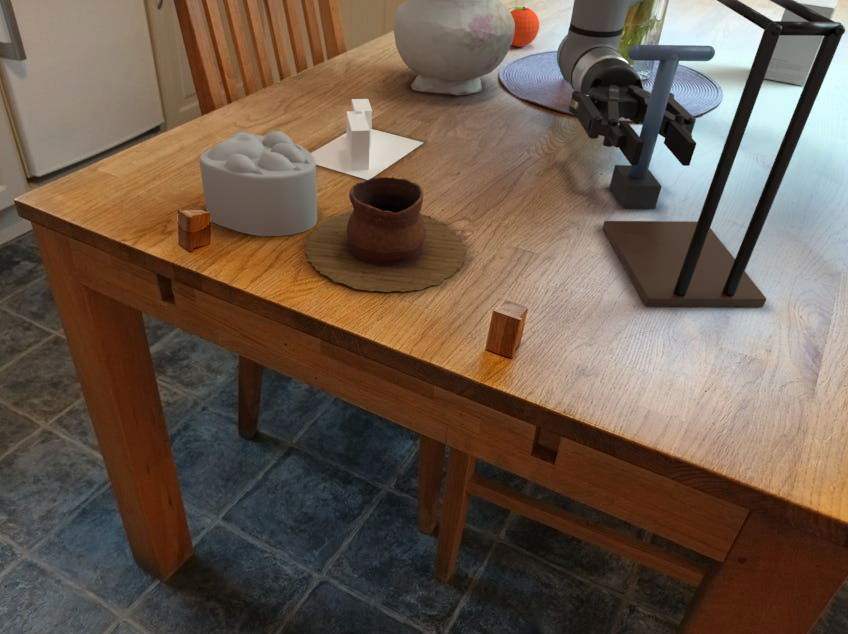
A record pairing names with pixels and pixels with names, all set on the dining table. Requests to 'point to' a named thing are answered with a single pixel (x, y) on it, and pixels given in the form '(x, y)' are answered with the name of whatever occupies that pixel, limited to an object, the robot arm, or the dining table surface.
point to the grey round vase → (452, 42)
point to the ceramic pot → (386, 241)
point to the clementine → (524, 26)
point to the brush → (652, 122)
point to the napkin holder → (363, 146)
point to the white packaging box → (798, 47)
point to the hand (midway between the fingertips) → (663, 154)
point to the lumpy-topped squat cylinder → (260, 184)
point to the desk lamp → (695, 241)
